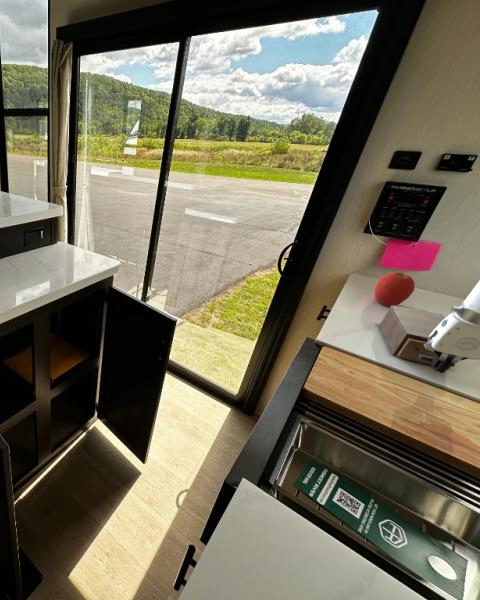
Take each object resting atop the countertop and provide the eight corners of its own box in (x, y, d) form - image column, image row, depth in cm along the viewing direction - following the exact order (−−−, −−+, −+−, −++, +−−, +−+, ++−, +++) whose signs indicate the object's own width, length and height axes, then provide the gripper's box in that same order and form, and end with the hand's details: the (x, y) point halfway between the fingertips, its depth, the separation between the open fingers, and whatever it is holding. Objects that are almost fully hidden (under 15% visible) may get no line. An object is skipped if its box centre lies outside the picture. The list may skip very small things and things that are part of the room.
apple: (373, 308, 119) (392, 276, 111) (363, 295, 127) (380, 263, 119) (407, 313, 116) (429, 280, 108) (395, 299, 124) (414, 267, 116)
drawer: (455, 379, 88) (471, 361, 84) (402, 367, 92) (415, 349, 89) (428, 337, 103) (441, 320, 99) (384, 328, 107) (394, 312, 104)
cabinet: (447, 367, 93) (465, 345, 88) (392, 355, 98) (406, 333, 93) (426, 335, 105) (441, 314, 101) (378, 325, 110) (391, 305, 106)
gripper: (445, 316, 78) (406, 369, 87) (534, 331, 72) (481, 387, 82) (433, 301, 83) (397, 353, 93) (514, 314, 77) (467, 368, 87)
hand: (436, 369), depth 87 cm, fingers closed
